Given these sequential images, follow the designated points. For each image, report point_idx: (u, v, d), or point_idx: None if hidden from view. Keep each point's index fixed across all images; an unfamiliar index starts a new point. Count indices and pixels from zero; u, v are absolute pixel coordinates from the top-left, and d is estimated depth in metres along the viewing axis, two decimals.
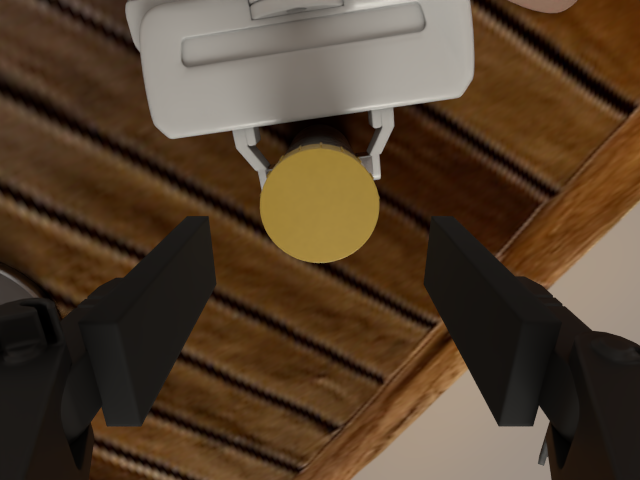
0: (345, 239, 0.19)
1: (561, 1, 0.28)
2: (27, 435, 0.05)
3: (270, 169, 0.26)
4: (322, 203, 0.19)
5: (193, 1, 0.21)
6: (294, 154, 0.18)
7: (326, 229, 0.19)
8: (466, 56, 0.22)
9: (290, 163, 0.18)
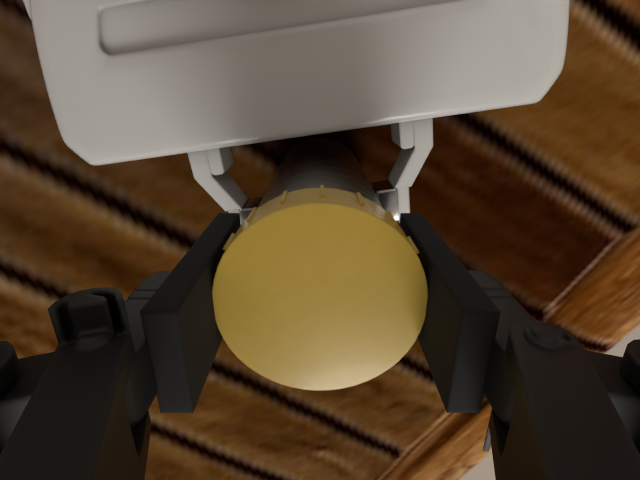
0: (365, 355, 0.11)
1: None
2: (99, 420, 0.05)
3: (247, 208, 0.17)
4: (325, 297, 0.10)
5: None
6: (272, 214, 0.09)
7: (332, 339, 0.11)
8: (556, 37, 0.14)
9: (265, 230, 0.10)
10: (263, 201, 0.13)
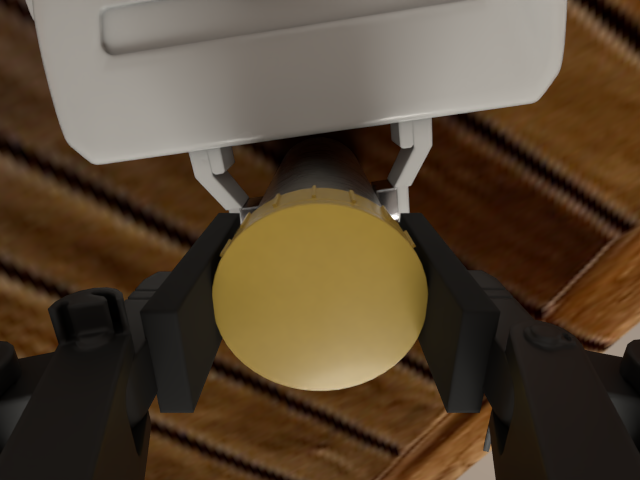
0: (395, 291, 0.10)
1: None
2: (99, 420, 0.05)
3: (247, 207, 0.18)
4: (313, 299, 0.10)
5: None
6: (213, 303, 0.10)
7: (361, 311, 0.10)
8: (554, 37, 0.14)
9: (224, 315, 0.10)
10: (264, 200, 0.13)
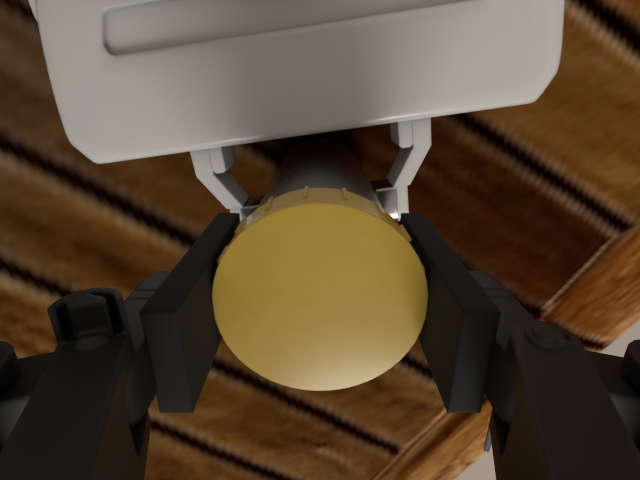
0: (337, 237, 0.10)
1: None
2: (98, 420, 0.05)
3: (248, 206, 0.18)
4: (308, 308, 0.10)
5: None
6: (274, 381, 0.11)
7: (343, 276, 0.10)
8: (551, 38, 0.14)
9: (289, 378, 0.11)
10: (264, 198, 0.14)
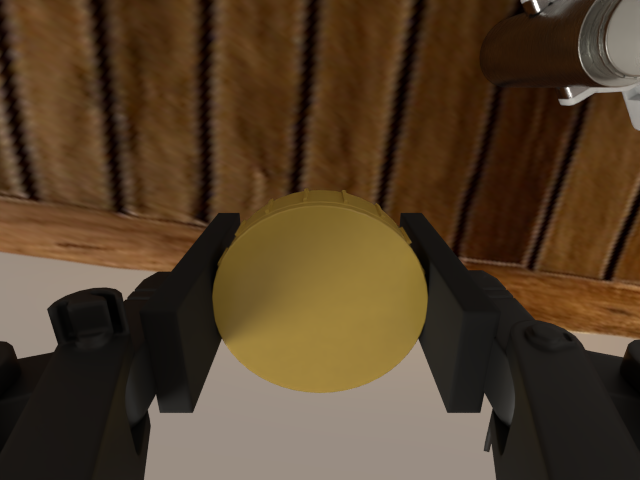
0: (337, 240, 0.10)
1: None
2: (98, 420, 0.05)
3: None
4: (308, 311, 0.10)
5: None
6: (274, 383, 0.11)
7: (343, 278, 0.10)
8: None
9: (289, 381, 0.11)
10: None
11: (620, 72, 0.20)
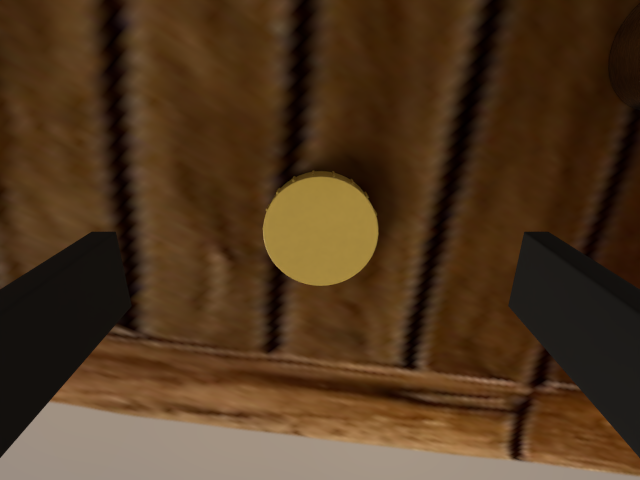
0: (329, 194, 0.19)
1: None
2: None
3: None
4: (314, 235, 0.19)
5: None
6: (295, 279, 0.20)
7: (333, 215, 0.19)
8: None
9: (303, 277, 0.20)
10: None
11: None
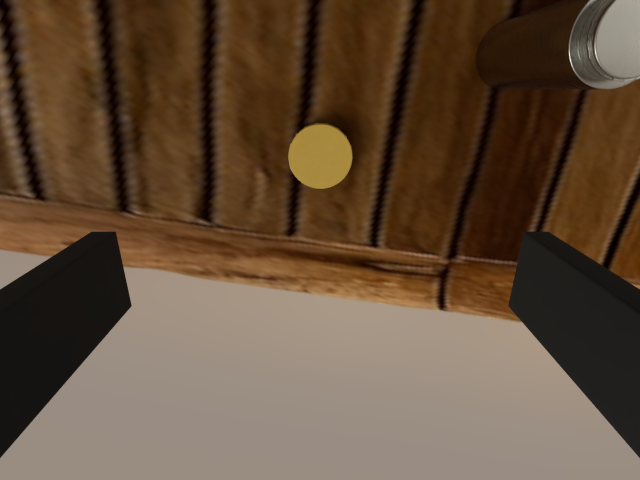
0: (325, 134, 0.34)
1: None
2: None
3: None
4: (317, 158, 0.35)
5: None
6: (306, 184, 0.36)
7: (327, 147, 0.35)
8: None
9: (310, 183, 0.36)
10: None
11: (609, 74, 0.20)
